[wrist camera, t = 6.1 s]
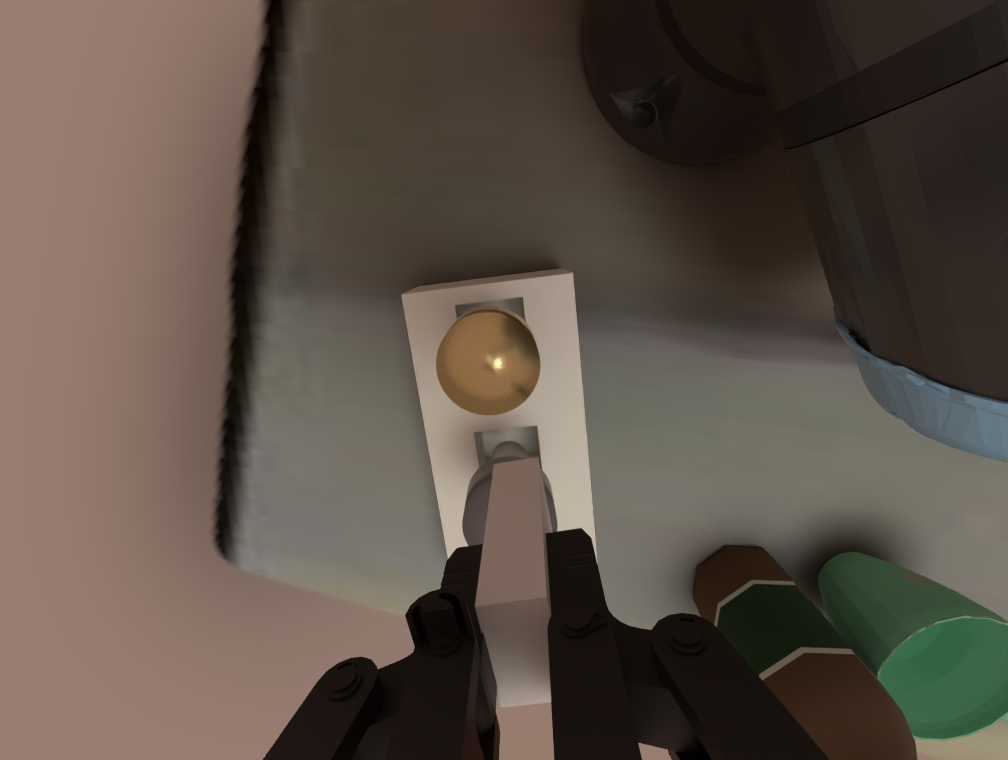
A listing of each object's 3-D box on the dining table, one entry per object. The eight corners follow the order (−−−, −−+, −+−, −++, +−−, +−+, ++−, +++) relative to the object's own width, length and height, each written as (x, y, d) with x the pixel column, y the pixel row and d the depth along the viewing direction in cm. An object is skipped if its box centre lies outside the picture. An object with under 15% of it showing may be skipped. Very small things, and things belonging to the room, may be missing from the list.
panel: (419, 286, 34) (401, 294, 28) (561, 268, 34) (572, 273, 28) (464, 557, 40) (457, 610, 34) (586, 544, 40) (600, 595, 34)
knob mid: (468, 427, 31) (455, 488, 23) (541, 419, 31) (552, 477, 23) (478, 492, 32) (469, 571, 24) (548, 485, 32) (561, 562, 24)
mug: (762, 596, 41) (841, 705, 31) (838, 504, 38) (948, 590, 29) (899, 665, 43) (1013, 788, 33) (979, 581, 40) (1127, 687, 31)
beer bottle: (678, 557, 40) (914, 990, 17) (772, 528, 39) (1157, 939, 16) (702, 631, 42) (943, 1111, 19) (792, 605, 41) (1161, 1071, 18)
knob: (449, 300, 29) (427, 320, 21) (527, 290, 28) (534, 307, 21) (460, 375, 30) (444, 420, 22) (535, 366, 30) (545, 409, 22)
